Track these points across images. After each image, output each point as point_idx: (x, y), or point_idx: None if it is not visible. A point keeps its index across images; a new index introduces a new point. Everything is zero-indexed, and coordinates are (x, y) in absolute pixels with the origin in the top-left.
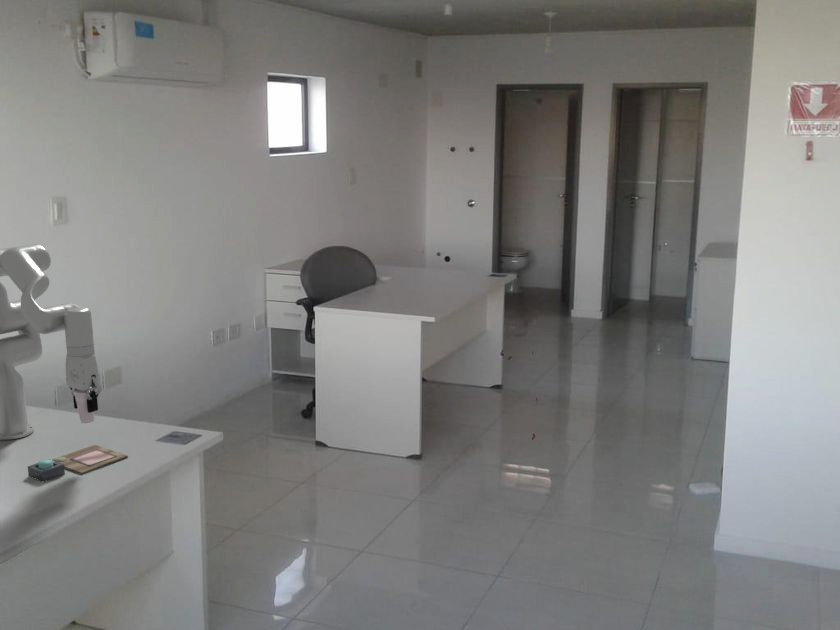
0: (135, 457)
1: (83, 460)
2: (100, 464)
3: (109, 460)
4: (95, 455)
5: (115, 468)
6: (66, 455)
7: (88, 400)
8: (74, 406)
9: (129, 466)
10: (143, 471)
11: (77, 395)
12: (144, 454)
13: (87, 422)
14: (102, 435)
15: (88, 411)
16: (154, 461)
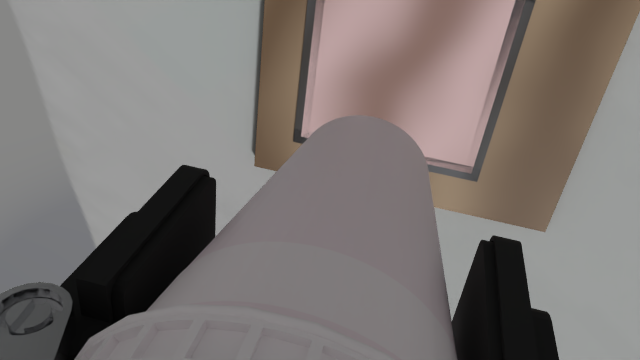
0: (227, 174)
1: (424, 6)
2: (280, 6)
3: (283, 77)
4: (414, 103)
5: (190, 17)
6: (613, 32)
7: (88, 281)
8: (511, 252)
9: (155, 70)
10: (48, 47)
11: (213, 316)
12: (222, 216)
13: (313, 134)
14: (614, 352)
15: (185, 170)
16: (116, 165)
